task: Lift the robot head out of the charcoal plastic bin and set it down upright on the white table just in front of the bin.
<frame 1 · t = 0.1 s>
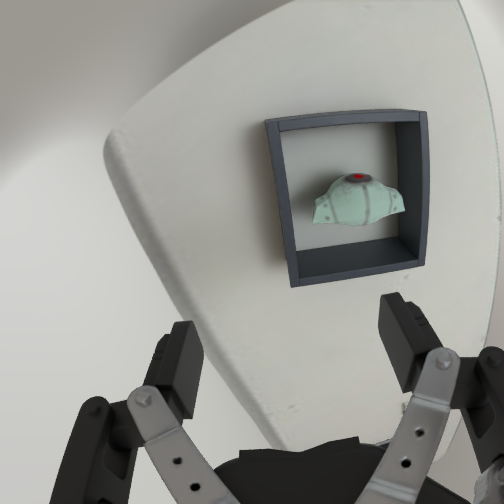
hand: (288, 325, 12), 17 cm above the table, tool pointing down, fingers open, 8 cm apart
bin: (344, 185, 27), on the table
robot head: (344, 184, 27), resting in bin
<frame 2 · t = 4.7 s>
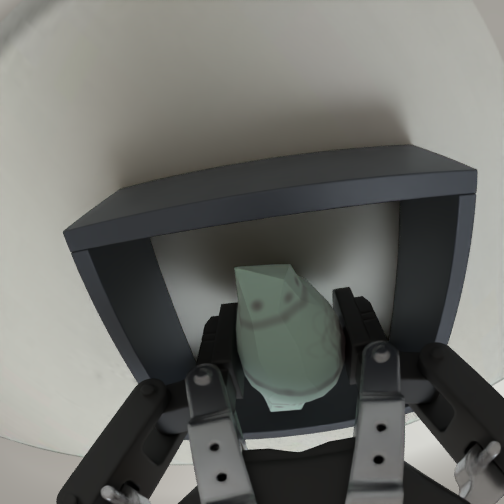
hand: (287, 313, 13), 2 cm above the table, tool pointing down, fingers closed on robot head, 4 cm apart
bin: (284, 285, 15), on the table
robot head: (283, 283, 15), resting in bin, touching gripper
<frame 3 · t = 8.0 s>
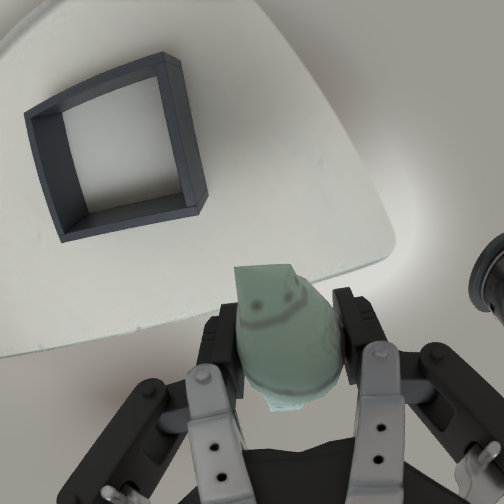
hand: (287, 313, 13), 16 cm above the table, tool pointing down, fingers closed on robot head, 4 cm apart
bin: (123, 146, 25), on the table
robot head: (283, 283, 15), point 13 cm above the table, touching gripper
when the fingers open (2 cm above the table, at t = 11.3 s): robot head stays where it is, on the table.
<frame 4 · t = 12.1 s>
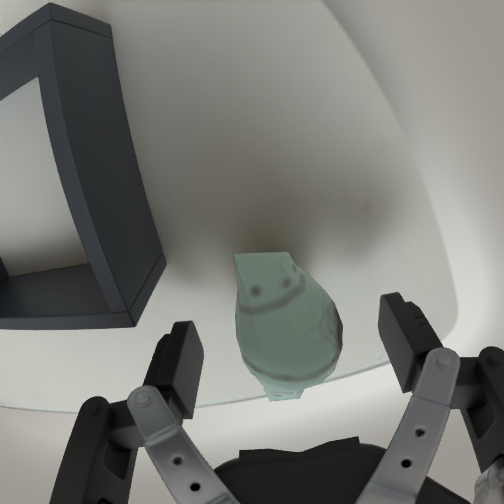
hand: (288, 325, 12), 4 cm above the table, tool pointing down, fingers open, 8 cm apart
bin: (32, 181, 13), on the table
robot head: (282, 274, 16), on the table
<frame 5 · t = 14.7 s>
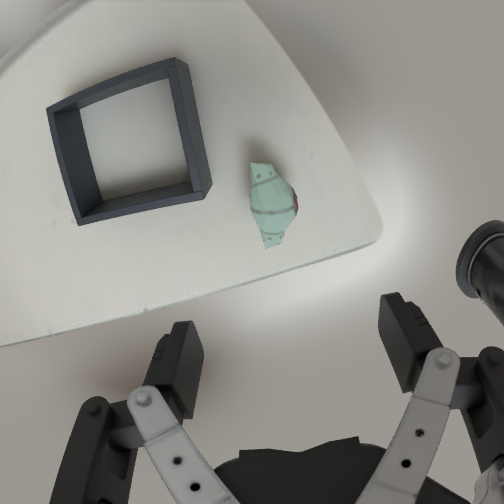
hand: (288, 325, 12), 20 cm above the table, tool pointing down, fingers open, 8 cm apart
bin: (136, 140, 28), on the table
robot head: (271, 189, 31), on the table
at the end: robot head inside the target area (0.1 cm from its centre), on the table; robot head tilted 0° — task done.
